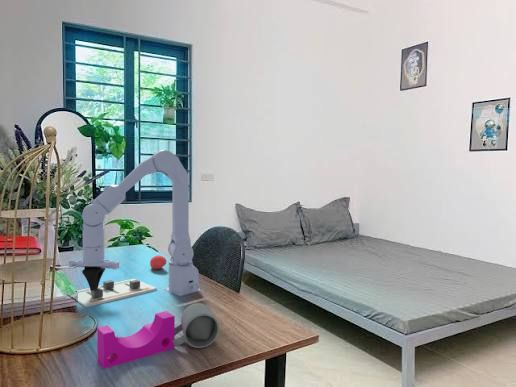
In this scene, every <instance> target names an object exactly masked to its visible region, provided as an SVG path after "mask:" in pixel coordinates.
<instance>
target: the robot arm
mask: <svg viewBox="0 0 516 387" xmlns="http://www.w3.org/2000/svg"><path fill="white" fill-rule="evenodd" d="M158 172H160V173H161V174H163V175H164V176H166V177H167V178H168V179H169V180H170V181H171V182H172V183H171V184H172V186H171V187H172V188H171V189H172V192H171V193H172V195H171V196H172V224H171V225H172V227H171V228H172V231H171V235H170V236H171V237H170V242H169V243H168V247H167V251H168V254H169V255H170V256H171V257H170V259H169V260H168V286H166V287H163V288H162V289H163V290H164V291H167V292H170V293H171V294H174V295H176V296H179V297H182V296H185V295H190V294H192V293H196V292H200V291H201V289H200V288H199V287H200V284H199V280H200V278H199V277H200V276H199V275H200V273H199V269H198V268H197V267H196V266H195V265H194V263H193V258H194V255H195V254H194V249H193V247H192V244H191V241H192V240H191V237H190V233H189V232H190V231H189V226H190V225H189V217H190V216H189V214H190V213H189V212H190V211H189V210H190V207H189V202H190V201H189V200H190V199H189V197H190V196H189V194H190V193H189V192H190V190H189V182H190V181H189V180H190V179H189V174H188V172H187V170H186V169H185V167H184V166H183V163H181V161H180V158H179V157H178V156H177V155H176V154H174V153H173V152H172V151H169V150H167V149H166V150H165V149H163V150H158V151H156V152H154V153H153V154H152V155H151V156H149V157H147V158H146V159H144V160H143V161H141V162H140V163H139V164H138V165H137V166H136V167H135V168H134V169H133V170H132V171H131V172H129V174H128V175H127V176H125V177H124V179H122V180H121V181H120V182H119V183H118V184H110V185H109V186H105V187H104V188H102V190H103V191H102V192H101V193H100V194H99V195H98V196H97V197H96V198H95V199H93V198H92V199H91V200H90V203H91V204H88V205H86V206H85V207H84V208H83V210H82V213H81V219H82V221H83V224H82V228H83V229H82V258H72V259H70V260H68V268H75V267H76V268H84V269H83V270H81V272H82V275H83V277H84V278H85V280H86V281H87V284H88V286H89V288H90V290H93V289H98V286H100V285H99V284H100V282H101V278H102V276H103V274H104V272H105V270H106V269H111V270H114V271H115V270H116V271H117V269H120V261H118V260H110V259H105V230H104V221H105V218H106V215H110V213H112V211H114V210H115V209H116V208H117V207H118V206H119V205H120V204H121V203H122V202H124V201H125V200H126V192H128V191H129V190H130V189H131V188H133V187H134V186H135V185H137V183H138V182H140V181H141V180H142V179H143V178H145V177H146V176H147V175H151V174H155V173H158Z"/></svg>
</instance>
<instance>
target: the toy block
mask: <svg viewBox="0 0 516 387" xmlns="http://www.w3.org/2000/svg"><path fill="white" fill-rule="evenodd" d="M175 317H176V316H175V315H174V314H172V313H171V312H170V311H168V310H165V311H161V312H157V313H156V312H155V314H154V318H153V321H152V322H151V323H147V324H144V325H143V326H142V327H141V328H140V329H139V330H138V331H137V332H135V333H133V334H132V335H131V334H130V335H128V336H124V337H123V336H121V337H120V336H116V334H115V330H114V329H112V328H111V327H110V326H109V325H102V326H98V327H97V328H96V330H97V331H96V338H97V339H96V340H97V343H96V344H97V345H96V346H97V347H96V348H97V352H96V353H97V356H96V357H97V362H98V364H99V365H100V366H101V367H102V368H103V369H108V368H111V367H115V366H118V365H121V364H125V363H128V362H132V361H135V360H139V359H143V358H145V357H149V356H153V355H156V354H160V353H164V352H166V351H169V350H170V351H171V350H173V349H175V347H176V346H174V344H173V340H174V339H176V337H175V336H176V335H175V327H176V326H175V325H176V324H175V322H176V321H175V320H176V319H175Z"/></svg>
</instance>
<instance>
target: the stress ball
mask: <svg viewBox="0 0 516 387" xmlns="http://www.w3.org/2000/svg"><path fill="white" fill-rule="evenodd" d="M149 264H150V265H149V266H150V268H151V269H152V270H160V269H162V268H163V267H165V266H166V264H167V259H166V257H164V256H162V255H155V256H153V257H152V258H151V259H150V261H149Z"/></svg>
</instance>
